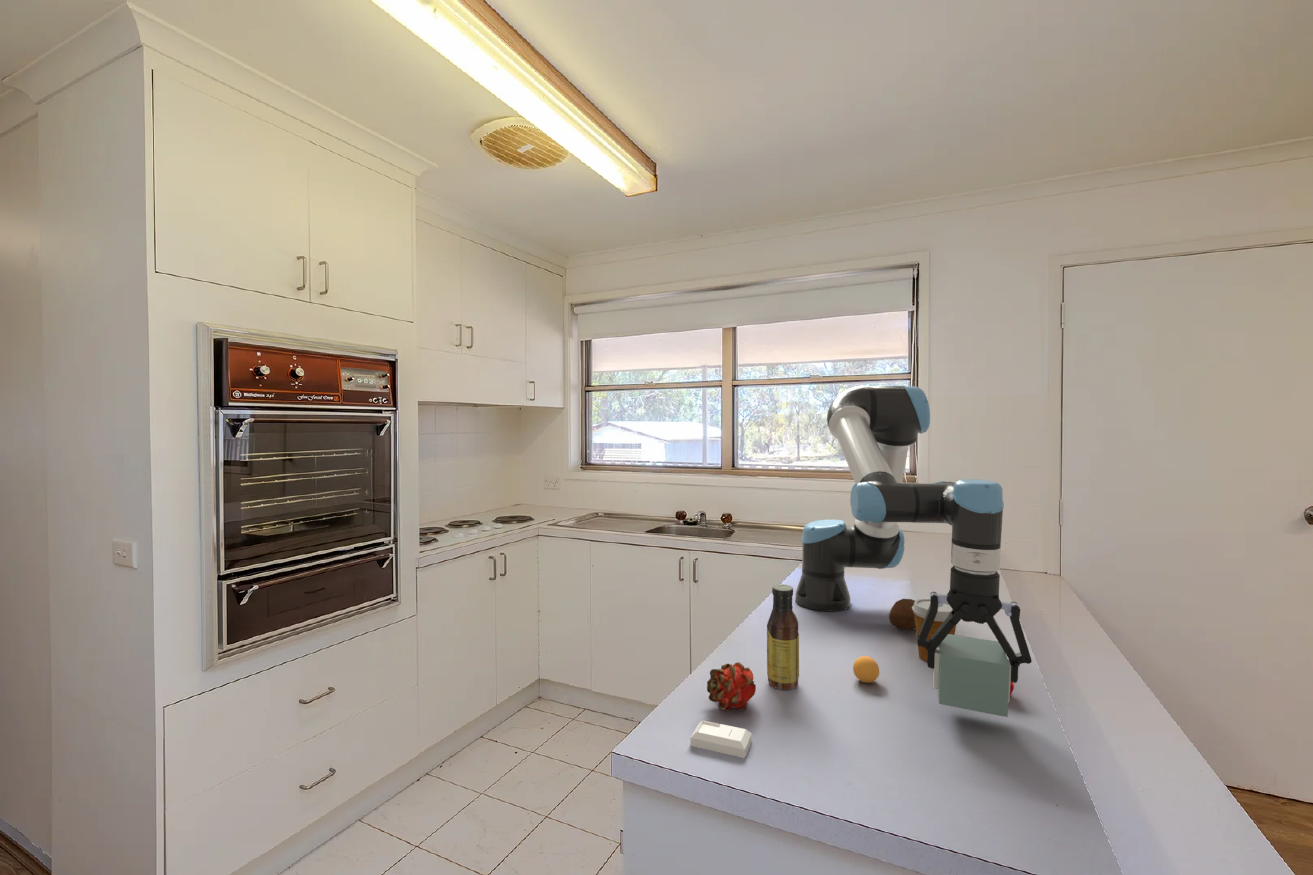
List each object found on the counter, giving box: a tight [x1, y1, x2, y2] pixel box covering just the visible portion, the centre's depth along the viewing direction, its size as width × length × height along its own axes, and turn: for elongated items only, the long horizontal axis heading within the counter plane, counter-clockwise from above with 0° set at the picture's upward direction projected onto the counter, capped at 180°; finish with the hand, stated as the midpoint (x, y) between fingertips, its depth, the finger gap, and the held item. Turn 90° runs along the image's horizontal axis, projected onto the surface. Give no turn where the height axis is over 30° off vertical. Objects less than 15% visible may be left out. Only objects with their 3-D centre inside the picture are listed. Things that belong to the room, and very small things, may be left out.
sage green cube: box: [937, 634, 1010, 718], centre depth 101 cm, size 10×10×9 cm
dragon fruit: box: [706, 661, 757, 712], centre depth 106 cm, size 8×8×12 cm
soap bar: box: [689, 719, 753, 759], centre depth 94 cm, size 5×9×3 cm, turn 68°
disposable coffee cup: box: [912, 598, 957, 663], centre depth 127 cm, size 10×10×12 cm
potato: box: [888, 598, 916, 631], centre depth 143 cm, size 7×10×8 cm
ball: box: [852, 655, 880, 684], centre depth 116 cm, size 5×5×5 cm
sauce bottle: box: [766, 584, 800, 691], centre depth 114 cm, size 7×6×20 cm
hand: (970, 691), depth 102 cm, fingers closed on sage green cube, 10 cm apart
